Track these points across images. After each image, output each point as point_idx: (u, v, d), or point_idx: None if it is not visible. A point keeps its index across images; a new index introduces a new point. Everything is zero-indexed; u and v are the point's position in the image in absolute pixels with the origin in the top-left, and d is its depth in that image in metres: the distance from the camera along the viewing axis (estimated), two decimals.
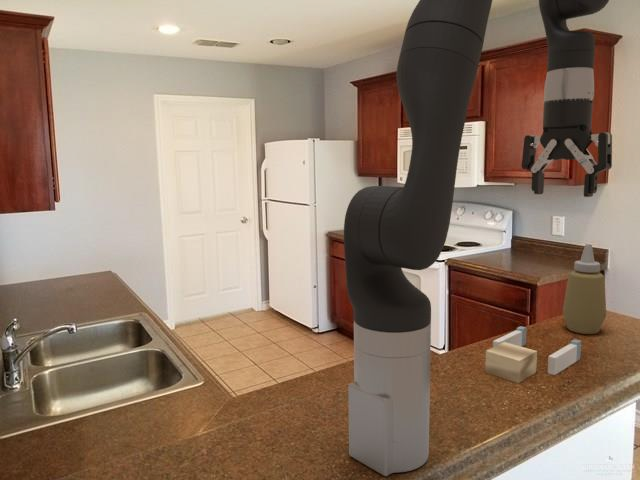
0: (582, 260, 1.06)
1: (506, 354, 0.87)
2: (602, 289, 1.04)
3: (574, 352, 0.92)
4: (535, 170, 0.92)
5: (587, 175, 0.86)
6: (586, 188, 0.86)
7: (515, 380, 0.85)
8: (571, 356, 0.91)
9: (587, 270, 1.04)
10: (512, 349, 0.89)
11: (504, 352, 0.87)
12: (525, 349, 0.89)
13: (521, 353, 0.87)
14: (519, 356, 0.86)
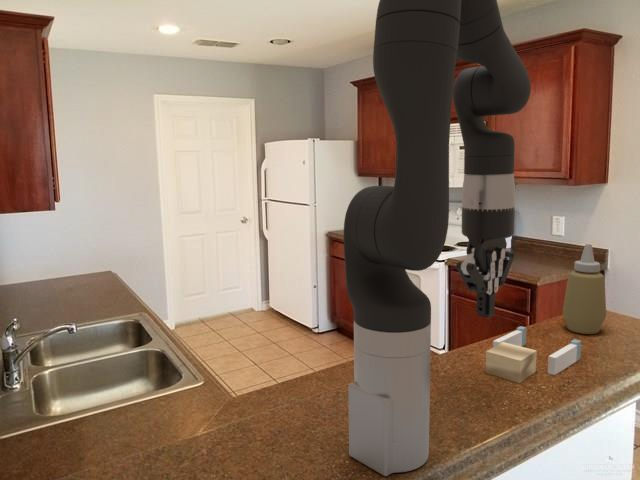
0: (582, 260, 1.06)
1: (506, 354, 0.87)
2: (602, 289, 1.04)
3: (574, 352, 0.92)
4: (491, 291, 0.79)
5: (493, 294, 0.80)
6: (493, 307, 0.80)
7: (516, 380, 0.85)
8: (571, 356, 0.91)
9: (587, 270, 1.04)
10: (512, 349, 0.89)
11: (504, 353, 0.87)
12: (525, 349, 0.89)
13: (521, 353, 0.87)
14: (520, 356, 0.86)
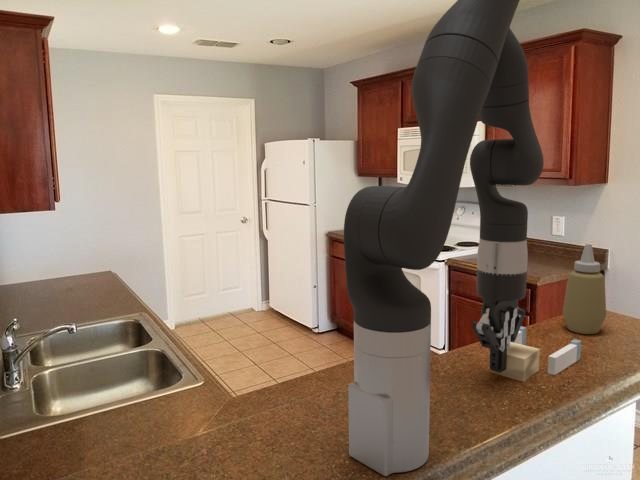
0: (582, 260, 1.06)
1: (510, 353, 0.87)
2: (602, 289, 1.04)
3: (574, 352, 0.92)
4: (503, 348, 0.84)
5: (505, 350, 0.85)
6: (505, 363, 0.85)
7: (520, 378, 0.85)
8: (571, 356, 0.91)
9: (587, 270, 1.04)
10: (515, 348, 0.89)
11: (508, 351, 0.88)
12: (528, 347, 0.89)
13: (524, 352, 0.87)
14: (523, 354, 0.86)
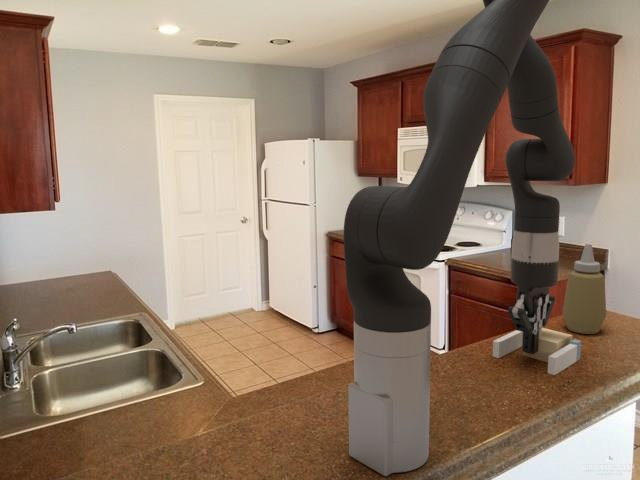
0: (582, 260, 1.06)
1: (543, 337, 0.94)
2: (602, 289, 1.04)
3: (574, 352, 0.92)
4: None
5: (537, 334, 0.92)
6: (537, 345, 0.92)
7: None
8: (571, 356, 0.91)
9: (587, 270, 1.04)
10: (549, 333, 0.96)
11: (541, 336, 0.94)
12: (561, 333, 0.95)
13: (557, 337, 0.94)
14: (556, 339, 0.93)
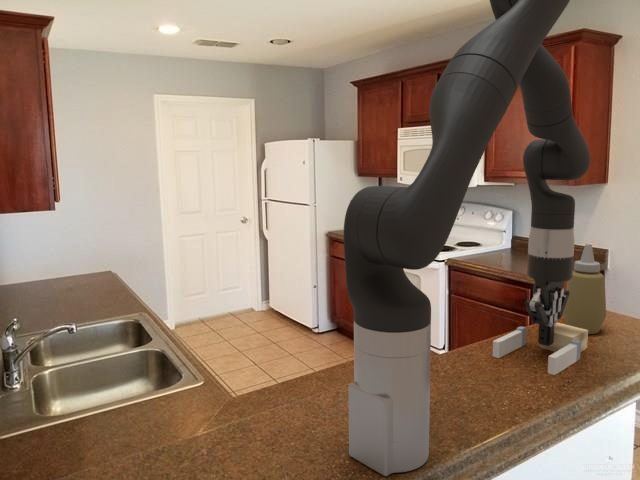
0: (582, 260, 1.06)
1: (560, 332, 0.97)
2: (602, 289, 1.04)
3: (574, 352, 0.92)
4: None
5: (553, 326, 0.96)
6: (553, 337, 0.96)
7: None
8: (571, 356, 0.91)
9: (587, 270, 1.04)
10: (565, 328, 0.99)
11: (558, 331, 0.98)
12: (577, 328, 0.99)
13: (573, 332, 0.97)
14: (572, 334, 0.96)
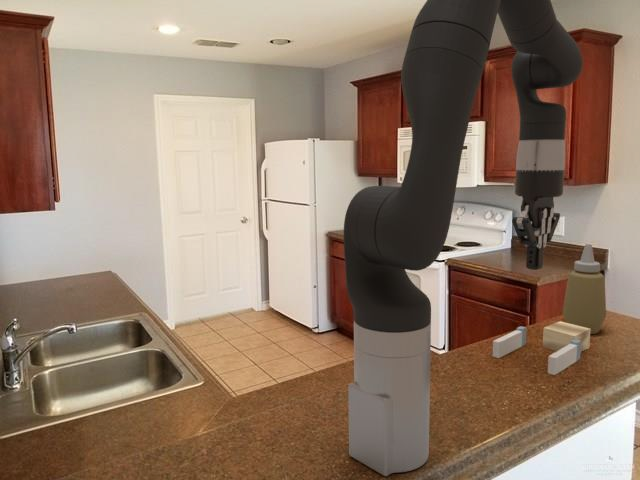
0: (582, 260, 1.06)
1: (562, 330, 0.97)
2: (602, 289, 1.04)
3: (574, 352, 0.92)
4: (540, 245, 0.89)
5: (542, 249, 0.90)
6: (541, 261, 0.90)
7: None
8: (571, 356, 0.91)
9: (587, 270, 1.04)
10: (568, 327, 0.99)
11: (560, 329, 0.98)
12: (579, 327, 0.99)
13: (576, 330, 0.97)
14: (574, 332, 0.96)
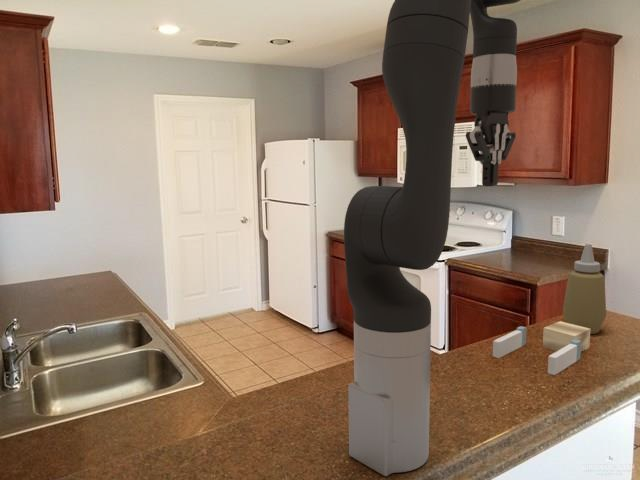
0: (582, 260, 1.06)
1: (562, 330, 0.97)
2: (602, 289, 1.04)
3: (574, 352, 0.92)
4: (495, 161, 0.91)
5: (496, 165, 0.92)
6: (496, 177, 0.92)
7: None
8: (571, 356, 0.91)
9: (587, 270, 1.04)
10: (568, 327, 0.99)
11: (560, 329, 0.98)
12: (579, 327, 0.99)
13: (576, 330, 0.97)
14: (574, 332, 0.96)
